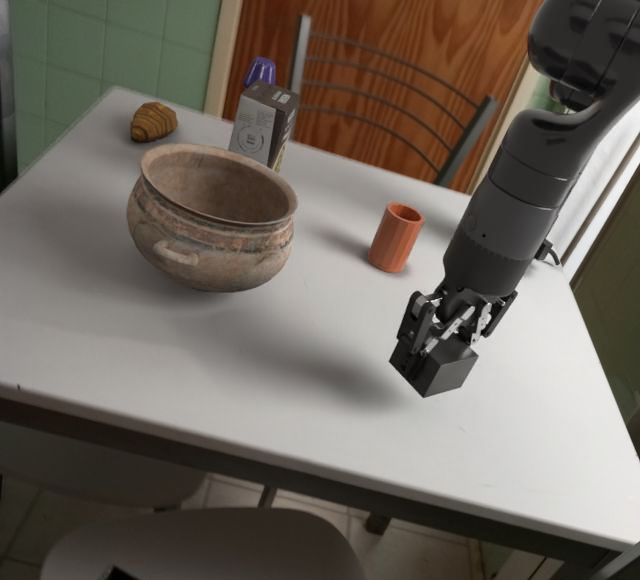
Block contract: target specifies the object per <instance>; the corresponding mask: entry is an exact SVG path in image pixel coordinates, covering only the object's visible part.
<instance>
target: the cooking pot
mask: <svg viewBox="0 0 640 580" xmlns="http://www.w3.org/2000/svg"><path fill="white" fill-rule="evenodd" d="M139 159H140V160H139V169H140V172H141V173H140V175H139V177H138V178H137V180H136V181H135V183H134V185H133V186H132V189H131V190H130V193H129V195H128V196H129V197H128V199H127V205H126V211H125V212H126V213H125V217H126V222H127V228H128V233H129V234H130V238H131V239H132V242H133V244H134V246H135V247H136V249H137V251H138V252H139V253H140V255H141V256H142V257H143V258H144V260H146V261H147V263H149V265H151V266H152V267H153V268H154V269H155V270H157V271H158V272H159V273H161V274H162V275H163V276H165V277H167V278H168V279H171V280H173V281H174V282H176V283H178V284H181V285H183V286H186V287H188V288H190V289H193V290H196V291H199V292H200V291H201V292H208V293H216V294H217V293H218V294H230V293H231V294H232V293H233V294H234V293H240V292H246V291H250V290H253V289H257V288H258V287H261V286H262V285H264V284H266V283H268V282H269V281H271V280H272V279H273V278H274V277H275V276H277V275H278V274H279V273H280V272H281V271H282V270H283V268H284V267H285V265H286V264H287V262H288V260H289V258H290V256H291V253H292V249H293V244H294V222H293V221H294V219H293V216H294V215H295V214H296V212H297V211H298V208H299V204H300V202H299V198H298V194H297V192H296V190H295V189H294V187H292V185H291V184H290V183H289V181H287V180H286V179H285V178H284V177H282V176H281V175H280V173H279V174H277V173H276V172H275V171H273V170H271V169H270V168H268V167H266V166H265V165H263V164H261V163H259V162H257V161H255V160H253V159H251V158H248V157H246V156H243V155H241V154H238V153H235V152H232V151H229V150H228V149H226V148H221V147H217V146H213V145H207V144H203V143H195V142H170V143H169V142H168V143H163V144H159V145H156V146H153V147H151V148H149V149H148V150H146V151H144V152H143V154H142V156H141V157H140V158H139Z"/></svg>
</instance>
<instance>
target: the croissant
mask: <svg viewBox="0 0 640 580" xmlns="http://www.w3.org/2000/svg"><path fill="white" fill-rule="evenodd" d="M178 125H179V120H178V118H177V113H176V111H175V110H173V109H172V108H171V107H169V106H167V105H165V104H163V103H161V102H160V101H147V102H143V103H142V104H141V105H140V106H139V107H138V108H137V109H136V110H135V111H134V114H133V115H132V120H131V121H130V123H129V130H130V131H129V132H130V133H129V134H130V141H132V142H133V143H135V144H149V143H155V142H156V141H158V140H162V139H165V138H167V137H168V136H170V135H171V134H172V133H173V132H174V131H175V130H177V128H178Z"/></svg>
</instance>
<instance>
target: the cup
mask: <svg viewBox="0 0 640 580" xmlns="http://www.w3.org/2000/svg"><path fill="white" fill-rule="evenodd" d="M425 221H426V220H425V216H424V215H423V213H421V212H420V211H419V210H418V209H417V208H414V207H413V206H411V205H409V204H406V203H402V202H398V201H396V202H395V201H393V202H389V203H387V204H386V206H385V209H384V212H383V214H382V217H381V219H380V221H379V224H378V226H377V229H376V232H375V233H374V236H373V239H372V241H371V244H370V247H369V249H368V251H367V252H368V253H367V255H366V256H367V260H368V262H370V264H371V265H372V266H373V267H376V268H377V269H378V270H380V271H383V272H386V273H390V274H399V273H401V272H402V271H403V270H404V268H405V266H406V264H407V262H408V259H409V258H410V255H411V254H412V253H411V252H412V250H413V248H414V246H415V244H416V241H417V240H418V237H419V235H420V232H421V230H422V228H423V226H424V223H425Z"/></svg>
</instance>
